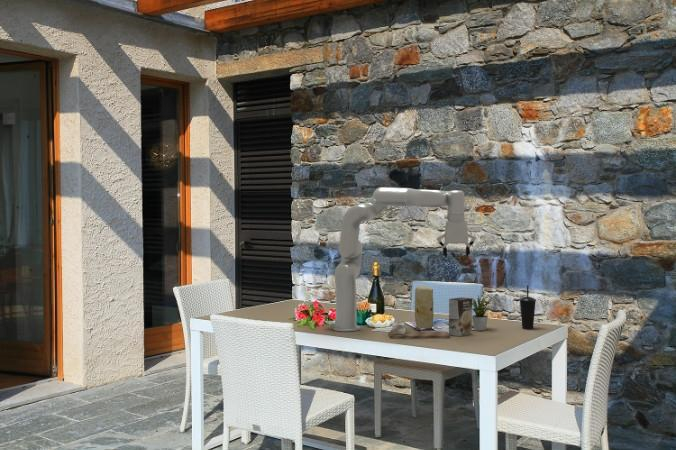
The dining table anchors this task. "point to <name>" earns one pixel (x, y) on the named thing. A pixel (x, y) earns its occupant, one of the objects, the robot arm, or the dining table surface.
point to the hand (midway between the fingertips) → (456, 256)
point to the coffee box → (460, 316)
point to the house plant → (480, 314)
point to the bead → (398, 328)
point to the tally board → (420, 335)
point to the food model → (424, 307)
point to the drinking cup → (527, 311)
